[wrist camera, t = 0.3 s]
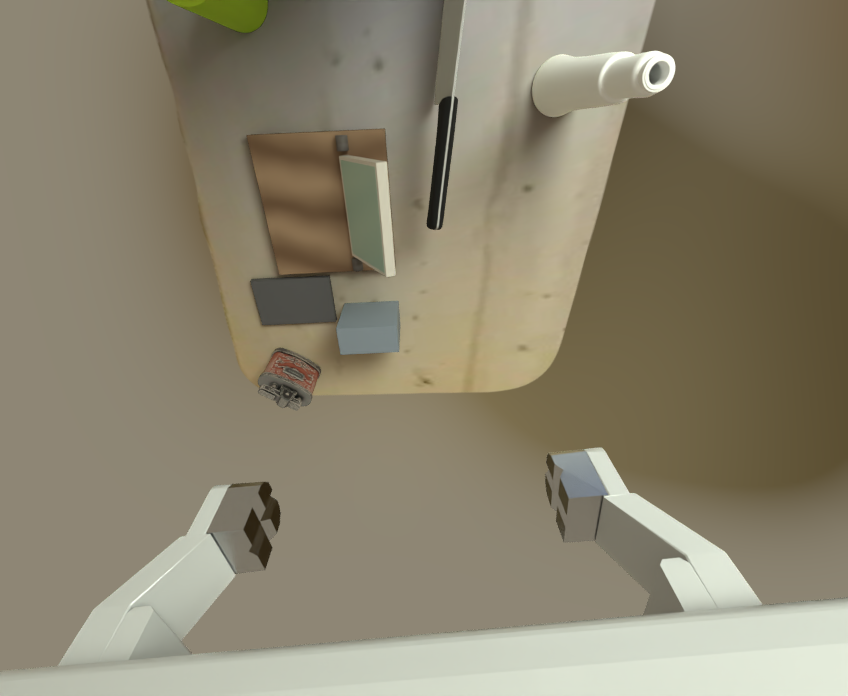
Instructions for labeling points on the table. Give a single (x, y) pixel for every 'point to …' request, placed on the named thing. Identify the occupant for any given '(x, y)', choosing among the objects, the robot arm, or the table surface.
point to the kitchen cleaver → (445, 106)
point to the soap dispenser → (229, 12)
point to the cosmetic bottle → (599, 80)
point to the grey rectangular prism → (369, 328)
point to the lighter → (289, 379)
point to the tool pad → (294, 300)
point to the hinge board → (310, 195)
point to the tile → (368, 212)
